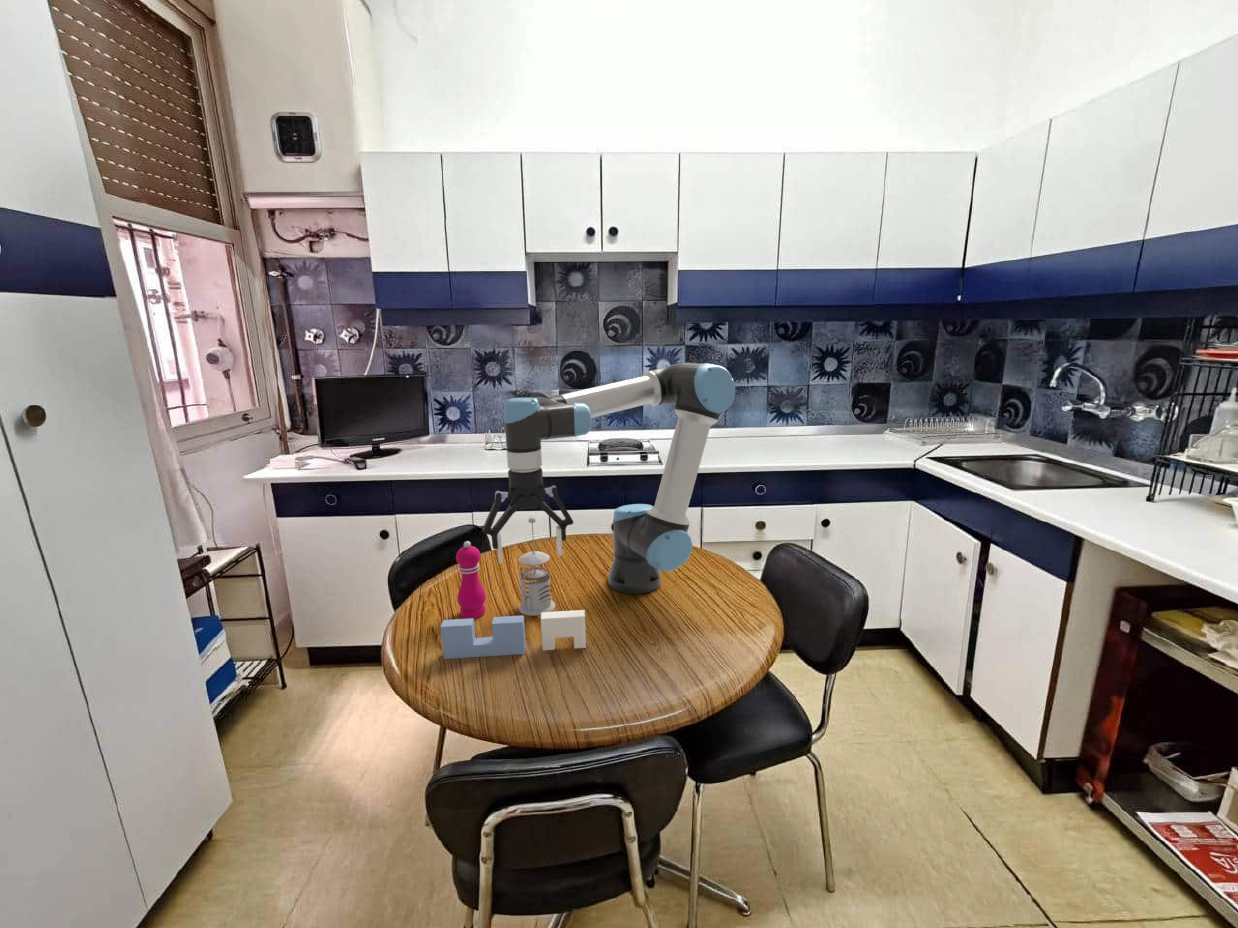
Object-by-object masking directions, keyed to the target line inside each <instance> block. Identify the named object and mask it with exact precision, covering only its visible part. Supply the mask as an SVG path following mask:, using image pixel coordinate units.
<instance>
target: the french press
mask: <svg viewBox="0 0 1238 928" xmlns="http://www.w3.org/2000/svg"><path fill="white" fill-rule="evenodd" d="M536 522H537V520H536V518H535V517H533V516H532V517H530V518H528V524H531V532H532V536H534V523H536ZM534 539H535V538H534V537H532V548H533V549H532V550H533V551H529V552H524V554H523V555H521V556H520V557H518V562H519V563H520V564H521V565H523V566H526V567H529V568H526V569H524V568H522V569H521V570H520V572H519V575H518V578H517V590H518V593H519V594H520V595H521V603H520V604H519V605H518V611H519V612H520V614H521V613H522V615H523V614H524V615H526V616H531V617H532V616H541V612H553V610H554V609H555V607H556V603H555V601H553V600H552V595H551V594H552V591H551V576H550V574H549V570H548V569H547V568H545V567H539V566H541V565H543V564H546V563H547V562H548V561H549V560H550V558H551V557H550V555H549V554H547V553H545V552H542V551H538V550H536V551H535V542H534V541H535V540H534ZM519 580H520V583H519ZM527 581H529V582H527ZM530 581H533V582H530ZM519 584H520V587H519Z"/></svg>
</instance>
